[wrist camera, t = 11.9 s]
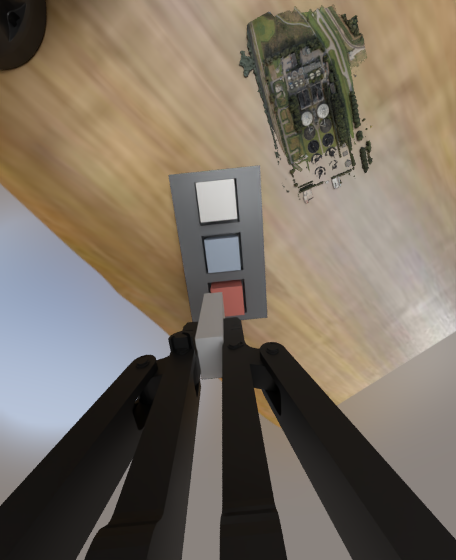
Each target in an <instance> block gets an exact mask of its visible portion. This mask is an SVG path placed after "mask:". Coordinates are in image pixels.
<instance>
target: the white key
mask: <svg viewBox="0 0 456 560" xmlns="http://www.w3.org/2000/svg"><path fill="white" fill-rule="evenodd" d="M196 190H197V197H198V205H199V212H200V220H201V222H210V221H220V220H230V219H237V210H236V198H235V185H234V179H226V180H217V181H207V182H198V183H196Z"/></svg>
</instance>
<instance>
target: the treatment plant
mask: <svg viewBox="0 0 456 560" xmlns="http://www.w3.org/2000/svg"><path fill="white" fill-rule="evenodd" d="M357 22H358V21H357V16H356V15H355V16H354V17H353V18H351V19H350V20H347V18H346V14H344V15H337V14H336V8H335V6H334V5H332V6H331V7H328V8H324V7H323V6H322V5H321V8H320V10H319V9H316V10H315V11H314V12H312V11H311V9H310V10H309V12H304V13H301V12H300V11H299V10H298V9H297V8H296V7H294V11H293V12H292V13H291V11H286V12H284V13H280V14H278V15H276V16H275V17H274V16H273V15H272V14H271V13H270V12H267V13H266V14H264V15H262V16H260V17H258V18H257V19H255V20H253V21H251V22H250V23H249V24H248V25H247V29H248V31H247V34H248V35H247V36H248V44H247V47H248V48H249V50H248V51H249V52H251V53H250V54H251V57H249V56H248V57H247V56H245V51H241V52H240V53H241V54H242V55H241V60H240V65H242V66H243V67H244V76H248V74H249V71H250V70H252V69H253V67H254V71H255V72H254V74H255V75H256V80H257V83H258V86H259V90H258V91H257V92H260V94H261V98H263V101H264V105H263V106H264V108H265V109H266V110H265V113H266V114H267V116H268V123H269V124H270V128H271V126H272V129H273V130H274V132H275V133H276V136H277V138H278V141H279V144H280V145H281V148H282V150H283V152H284V153H285V154H284V155H286V157H287V159H288V161H289V162H290V163H289V162H288V163H289V164H290V165H292V167H293V168H294V169H292V170H290V173H291V174H292V173H294V172H295V169H297V170H300V172H301V171H302V169H301V168H300V167H299V166H298V165H297V163H295V162H296V161H297V162H299V163H298V164H300V163H301V162H303V161H306V162H307V166H308V170H309V165H308V161H309V162H310V161H311V162H312V161H313V156H314V155H316V156H317V155H320V156H319V157H318V159H317V158H316V159H315V163H316V162H317V161H318V160H319V158H320V157H321V158H322V155H321V154H322V153H327V151H328V150H330V149H332V148H333V149H335V148H334V147H336V146H338V150H340V149H339V147H340V146H342V148H343V147H345V144H344V142H345V143H347V144H346V145H347V146H348V148H349V153H350V156H351V160H348V159H347V161H346V162H345V165H346V167H347V166H348V167H349V165H351V162H352V166H355V164H356V163H355V160H354V157H353V154H351V152H350V151H351V150H352V148H351V147H352V144H351V138H350V134H351V136H352V138H354V132H353V123H354V122H355V123H356V124H355V127H356V128H357V127H359V126H360V125H361V123H360V118H359V113H358V109H357V108H358V104H357V103H356V102H357V100H356V99H355V98H356V96H355V95H354V94H355V92H354V88H353V80H352V76H351V69H352V68H351V69H350V66H352V67H353V66H354V67H355V66H357V67H358V66H359V63H358V62H360V61H361V63H360V64H362V61H364V59H365V58H367V54H366V50H365V46H364V39H363V35H362V34H361V33H359V28H358V24H357ZM364 62H365V61H364ZM349 64H350V65H349ZM353 75H354V74H353ZM354 76H355V77H356V75H354ZM351 110H352V111H351ZM352 114H353V116H352ZM353 117H354V122H353V123H352V121H353ZM364 120H365V119H363V120H362V121H364ZM328 124H329V125H328ZM371 127H372V126H370V128H371ZM272 129H271V131H272V133H273V130H272ZM366 130H367V128H366ZM272 135H273V134H272ZM365 137H366V136H365ZM326 138H327V139H326ZM328 138H329V139H328ZM362 138H363V136H362V131H358V132H357V140H362ZM273 139H274V135H273ZM325 139H326V141H325ZM338 141H339V142H338ZM325 143H326V144H325ZM327 143H328V144H327ZM330 143H331V144H330ZM338 143H340V146H339V144H338ZM342 143H343V144H342ZM354 143H355V141H354ZM366 143H367V144H366V145H367V146H366V148H363V147H361V149H360V153H361V154H360V156H361V160H362V169H364V172H365V173H366V172H367V170H368V168H369V167H368V163H367V159H366V152H365V150H368V151H367V152H368V153H367V155H368V161H369V164H371V163H372V159H373V158H371V157H370V156H369V153H370V151H371V143H370V141H367V142H366ZM274 144H275V145H274V146H275V149H276V147H277V145H276V141H275V139H274ZM313 144H314V145H313ZM329 144H330V146H328V145H329ZM355 144H356V143H355ZM311 145H312V146H311ZM331 146H332V147H331ZM314 148H315V149H314ZM277 149H278V147H277ZM327 149H328V150H327ZM336 150H337V149H335V151H336ZM277 151H278V150H277ZM335 151H333V150H332V151H329V156H330V155H331V156H333V157H334V153H335ZM316 153H318V154H316ZM331 153H332V154H331ZM275 154H276V158H277V157H278V158H279V156H280V155H279V154H278V152H275ZM339 154H340V151H339ZM299 155H300V156H299ZM301 155H302V156H303V155H304V156H303V157H301ZM340 155H341V154H340ZM340 155H339V156H340ZM345 155H348V152H347V151H345V152H343V156H345ZM326 156H328V155H327V154H326ZM305 157H307V159H304V160H303V158H305ZM340 157H341V156H340ZM334 158H335V157H334ZM280 160H281V158H280ZM316 160H317V161H316ZM334 161H335V162H336V160H334ZM331 162H332V161H331ZM278 163H279V161H278ZM336 163H337V162H336ZM293 164H294V165H293ZM313 164H314V163H313ZM330 164H331V163H330ZM334 166H335V164H334ZM334 166H333V168H334V169H335V168H336V167H337V166H335V167H334ZM306 168H307V167H306ZM318 168H319V167H318ZM318 168H317V169H318ZM320 168H323V167H320ZM317 169H316V170H317ZM323 169H324V170H325V168H323ZM352 169H353V170H354V167H353V168H352ZM352 169H350V170H348V171H346V172H343V173H340V174H338V175H336V176H337V177H338V181H339V186H341V183H342V182H340V181H341V180H339V176H341V175H345V174H344V173H348V172H351V171H352ZM316 170H315V174H316ZM332 170H333V169H332ZM309 171H310V170H309ZM320 171H321V173H319V172H320ZM319 172H318V173H319V174H320V176H321V175H322V172H323V171H322V170H319ZM319 174H318V175H319ZM324 175H325V173H324ZM349 175H350V173H349ZM320 176H319V178H320ZM336 176H333V177H332V178H331V179H332V180H331V181H332V184H333V187H334V189H335V188H338V183H337V179H336ZM292 177H294V175H293V174H292ZM354 177H355V176H354ZM333 178H334V179H333ZM293 181H294V183H295V179H294V180H293ZM312 182H313V181H310V182H308V183H307V184H309V183H312ZM282 183H283V182H282ZM326 183H328V181H326ZM320 184H323V181H322V182H320V183H318V184H317V185H318V186H319V185H320ZM304 185H306V184H303V185H302V186H304ZM282 186H283V185H282ZM294 186H296V187H297V186H298V184H297V183H296V184H294ZM302 186H300V187H302ZM315 186H316V184H314V185H312V184H309V185H308V186H305V187H303V188H300V191H299V193H301V192H302V191H303V193H304V196H303V198H304V201H305V203H308V202H309V200H310V199H312V198H313V196H312V192H311V189H310V188H311V187H315ZM283 187H284V186H283ZM316 187H317V186H316ZM298 188H299V187H298ZM286 191H287V190H286ZM287 192H289V191H287ZM298 195H299V194H298ZM298 197H299V196H298ZM299 200H300V199H299Z"/></svg>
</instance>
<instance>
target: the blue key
mask: <svg viewBox="0 0 456 560" xmlns="http://www.w3.org/2000/svg"><path fill="white" fill-rule="evenodd" d="M204 242H205V250H206V258H207V265H208V273H215V272H225V271H235V270H241V266H240V254H239V242H238V236H237V235H227V236H217V237H208V238H206V239H205V240H204Z"/></svg>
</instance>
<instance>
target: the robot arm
mask: <svg viewBox="0 0 456 560" xmlns="http://www.w3.org/2000/svg"><path fill="white" fill-rule="evenodd" d="M45 24H46V2H45V0H0V70H4V69H11V68H15V67H17V66H20V65H22V64H23V63H25V62H26V61H27V60H29V59H30V58H31V57H32V56H33V54H34V53H35V52H36V50H37V49H38V47H39V45H40V43H41V40H42V38H43V34H44V30H45ZM168 340H169V345H170V349H171V353H170V356H168V357H165V358H163V359H159V360H156V358H155V357H154V356H153V355H144V356H141V357H139V358H137V359H135V360H134V361H133V362H132V363H131V364H130V365H129V366H128V367H127V368H126V369H125V370H124V371H123V372H122V374H121V375H120V376H119V377H118V378H117V379H116V380H115V381H114V382H113V383H112V385H111V386H110V387H109V388H108V389H107V390H106V391H105V392H104V393H103V394H102V395H101V397H100V398H99V399H98V400H97V401H96V402H95V403H94V404H93V405H92V406H91V408H90V409H89V410H88V411H87V412H86V413H85V414H84V415H83V416H82V417H81V418H80V419H79V421H78V422H77V423H76V424H75V425H74V426H73V427H72V428H71V429H70V431H68V433H67V434H66V435H65V436H64V437H63V438H62V439H61V440H60V441H59V442H58V444H57V445H56V446H55V447H54V448H53V449H52V450H51V451H50V452H49V453H48V454H47V456H46V457H45V458H44V459H43V460H42V461H41V462H40V463H39V464H38V465H37V467H36V468H35V469H34V470H33V471H32V472H31V473H30V474H29V475H28V476H27V477H26V478H25V480H24V481H23V482H22V483H21V484H20V485H19V486H18V487H17V488H16V489H15V490H14V492H13V493H12V494H11V495H10V496H9V497H8V498H7V499H6V500H5V501H4V502H3V504H2V505H1V506H0V560H76V558H77V556H78V555H79V553H80V551H81V549H82V548H83V545H84V544H85V542H86V540H87V538H88V537H89V535H90V533H91V532H92V530H93V528H94V526H95V524H96V522H97V521H98V519H99V517H100V515H101V514H102V512H103V510H104V508H105V507H106V505H107V503H108V501H109V500H110V498H111V496H112V494H113V492H114V491H115V489H116V487H117V485H118V484H119V481H120V480H121V478H122V476H123V474H124V473H125V471H126V469H127V468H128V466H129V464H130V462H131V461H132V463H131V466H130V468H129V471H128V474H127V477H126V480H125V482H124V485H123V488H122V491H121V494H120V497H119V499H118V502H117V505H116V508H115V510H114V514H113V516H112V518H111V520H110V522H109V523H108V525H106V526H105V527H103V528H101V529H100V530H99V531H98V533H97V534H96V535H95V537H94V539H93V541H92V543H91V545H90V547H89V549H88V552H87V554H86V557H85V560H181V559H182V550H183V542H184V533H185V524H186V515H187V506H188V496H189V488H190V479H191V471H192V462H193V453H194V444H195V434H196V426H197V417H198V408H199V400H200V391H201V384H200V374H201V379H213V378H222V472H223V473H222V489H223V490H222V497H223V498H222V499H223V500H222V502H223V503H222V515H221V521H220V560H287V556H286V550H285V545H284V540H283V534H282V529H281V524H280V519H279V515H278V512H277V509H276V507H275V503H274V497H273V492H272V487H271V481H270V475H269V470H268V464H267V458H266V453H265V447H264V442H263V437H262V431H261V425H260V420H259V414H258V408H257V403H256V397H255V392H254V388H258V389H262V392H263V394H264V396H265V398H266V400H267V401H268V403H269V405H270V407H271V409H272V411H273V413H274V414H275V416H276V418H277V420H278V422H279V424H280V426H281V427H282V429H283V431H284V433H285V435H286V437H287V438H288V440H289V442H290V444H291V446H292V448H293V450H294V452H295V453H296V455H297V457H298V459H299V460H300V463H301V465H302V466H303V468H304V470H305V472H306V474H307V476H308V478H309V479H310V481H311V483H312V485H313V487H314V489H315V491H316V492H317V494H318V496H319V498H320V500H321V502H322V504H323V505H324V507H325V509H326V511H327V513H328V515H329V516H330V519H331V520H332V522H333V524H334V526H335V528H336V530H337V532H338V533H339V535H340V537H341V539H342V541H343V543H344V544H345V546H346V548H347V550H348V552H349V554H350V556H351V557H352V559H353V560H456V540H455V538H454V537H453V536H452V535H451V534H450V533H449V532H448V530H447V529H446V528H445V527H444V526H443V525H442V524H441V523H440V522H439V520H438V519H437V518H436V517H435V516H434V515H433V514H432V512H431V511H430V510H429V509H428V508H427V507H426V506H425V505H424V503H423V502H422V501H421V500H420V499H419V498H418V497H417V496H416V494H415V493H414V492H413V491H412V490H411V489H410V488H409V487H408V485H407V484H406V483H405V482H404V481H403V480H402V479H401V478H400V476H399V475H398V474H397V473H396V472H395V471H394V470H393V469H392V468H391V466H390V465H389V464H388V463H387V462H386V461H385V460H384V459H383V457H382V456H381V455H380V454H379V453H378V452H377V451H376V450H375V449H374V447H373V446H372V445H371V444H370V443H369V442H368V441H367V439H366V438H365V437H364V436H363V435H362V434H361V433H360V432H359V430H358V429H357V428H356V427H355V426H354V425H353V424H352V423H351V421H350V420H349V419H348V418H347V417H346V416H345V415H344V414H343V413H342V411H341V410H340V409H339V408H338V407H337V406H336V405H335V404H334V402H333V401H332V400H331V399H330V398H329V397H328V396H327V395H326V393H325V392H324V391H323V390H322V389H321V388H320V387H319V386H318V384H317V383H316V382H315V381H314V380H313V379H312V378H311V377H310V375H309V374H308V373H307V372H306V371H305V370H304V369H303V368H302V366H301V365H300V364H299V363H298V362H297V361H296V360H295V359H294V357H293V356H292V355H291V354H290V353H289V352H288V351H287V350H286V349H285V347H284V346H282V345H281V344H279V343H276V342H268V343H265V344H263V345H262V346H261V347H260V349H257V348H252V347H249V346H248V345H247V344H246V343H245V341H244V335H243V330H242V324H241V320H240V319H239V318H238V317H233V318H225V313H224V304H223V295H222V292H216V293H206V294H204V298H203V303H202V307H201V312H200V317H199V321H198V322H188V323H187V324H186V325H185V326H184V327H183V330H182V331H180V332H177V333H174V334H173V335H171V336H170V337H169V339H168ZM136 399H137V400H136ZM132 459H133V460H132Z"/></svg>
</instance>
